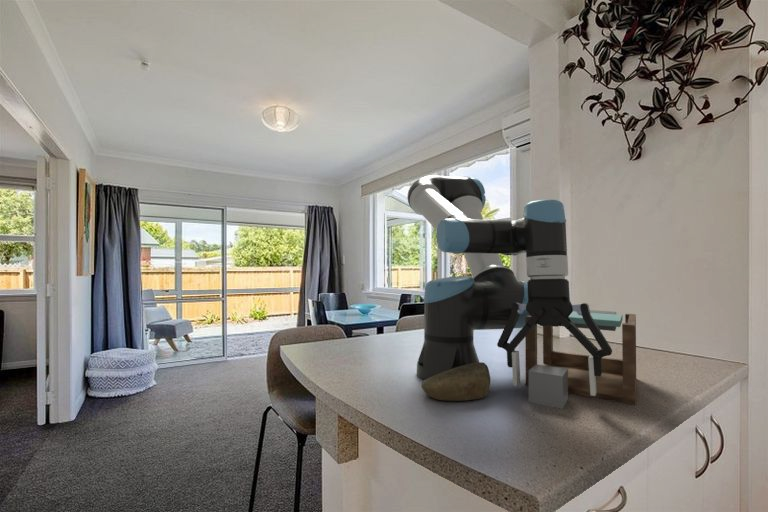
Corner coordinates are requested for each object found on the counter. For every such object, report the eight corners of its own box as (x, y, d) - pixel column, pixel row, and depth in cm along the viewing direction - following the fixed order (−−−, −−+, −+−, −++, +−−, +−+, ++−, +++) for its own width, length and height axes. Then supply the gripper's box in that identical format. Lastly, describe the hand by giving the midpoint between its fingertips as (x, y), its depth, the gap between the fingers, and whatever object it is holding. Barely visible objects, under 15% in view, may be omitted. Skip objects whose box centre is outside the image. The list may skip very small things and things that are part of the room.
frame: (525, 385, 82) (525, 316, 82) (544, 365, 98) (544, 308, 99) (635, 404, 70) (634, 325, 71) (636, 378, 87) (635, 314, 87)
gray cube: (528, 402, 72) (528, 370, 72) (535, 393, 77) (535, 364, 77) (562, 409, 68) (562, 376, 68) (567, 399, 73) (567, 369, 73)
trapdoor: (541, 333, 84) (541, 315, 84) (556, 322, 99) (556, 307, 99) (620, 341, 75) (620, 321, 75) (623, 328, 91) (623, 311, 91)
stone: (509, 392, 74) (491, 350, 71) (453, 435, 70) (432, 392, 68) (483, 375, 82) (466, 338, 80) (431, 413, 78) (412, 374, 76)
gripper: (479, 279, 77) (483, 384, 75) (621, 275, 64) (630, 404, 61) (491, 280, 84) (494, 377, 82) (622, 277, 70) (631, 393, 68)
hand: (553, 389), depth 72 cm, fingers open, 13 cm apart
